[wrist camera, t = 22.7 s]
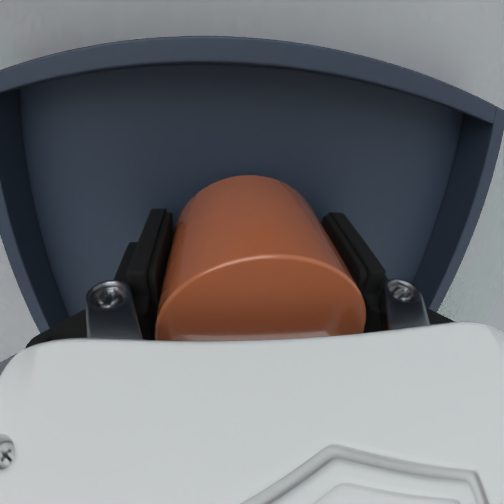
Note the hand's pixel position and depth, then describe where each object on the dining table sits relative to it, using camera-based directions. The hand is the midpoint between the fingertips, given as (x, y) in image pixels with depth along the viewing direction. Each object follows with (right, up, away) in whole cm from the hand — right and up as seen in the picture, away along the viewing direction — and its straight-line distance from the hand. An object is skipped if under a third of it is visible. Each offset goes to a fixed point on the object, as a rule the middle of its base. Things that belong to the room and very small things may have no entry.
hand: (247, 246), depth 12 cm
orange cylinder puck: (0, 0, 0) cm, 0 cm away
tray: (0, +1, +1) cm, 2 cm away
